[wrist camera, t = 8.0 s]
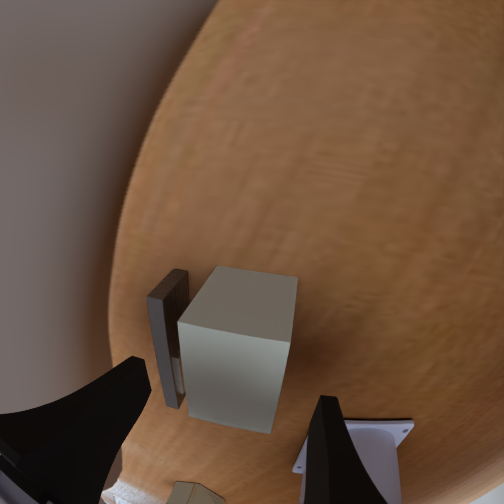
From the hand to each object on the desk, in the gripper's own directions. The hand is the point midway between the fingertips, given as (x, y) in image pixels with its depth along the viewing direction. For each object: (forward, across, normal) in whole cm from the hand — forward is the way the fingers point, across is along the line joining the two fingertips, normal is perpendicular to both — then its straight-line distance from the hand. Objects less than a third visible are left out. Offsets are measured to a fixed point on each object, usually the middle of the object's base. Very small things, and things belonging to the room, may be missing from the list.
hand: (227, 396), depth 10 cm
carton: (+5, 0, 0) cm, 5 cm away
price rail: (+5, +4, +1) cm, 7 cm away
